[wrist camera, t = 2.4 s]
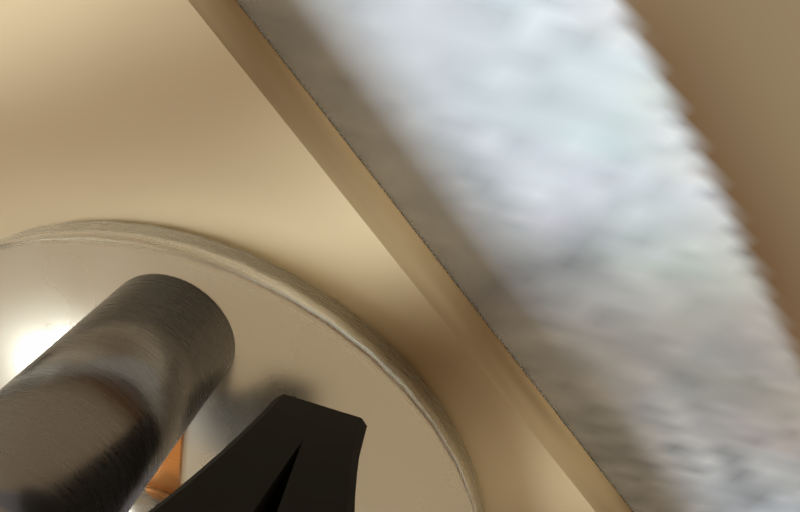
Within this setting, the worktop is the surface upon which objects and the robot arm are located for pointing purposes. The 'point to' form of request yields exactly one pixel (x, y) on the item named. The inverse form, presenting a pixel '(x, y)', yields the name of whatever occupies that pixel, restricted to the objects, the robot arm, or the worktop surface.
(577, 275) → the worktop surface
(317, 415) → the robot arm
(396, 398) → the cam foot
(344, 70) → the worktop surface
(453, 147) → the worktop surface
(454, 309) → the stand plate
